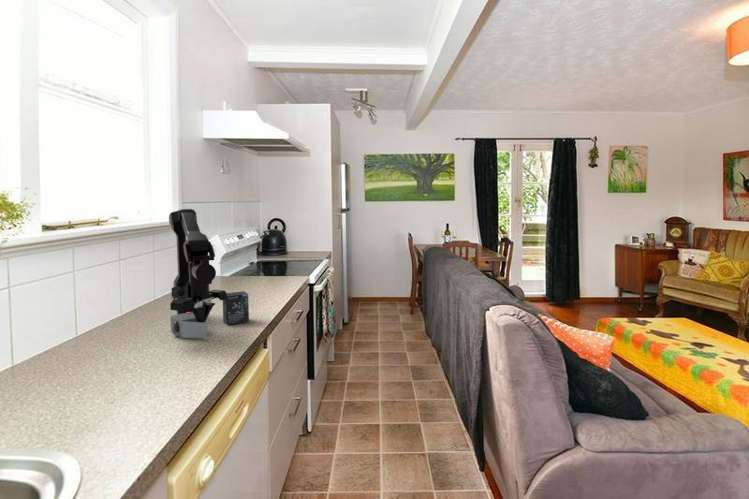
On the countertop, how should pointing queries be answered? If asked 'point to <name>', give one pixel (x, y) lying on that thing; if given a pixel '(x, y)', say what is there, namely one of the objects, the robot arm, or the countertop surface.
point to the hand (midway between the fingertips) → (201, 326)
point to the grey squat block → (181, 317)
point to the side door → (193, 329)
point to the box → (236, 308)
